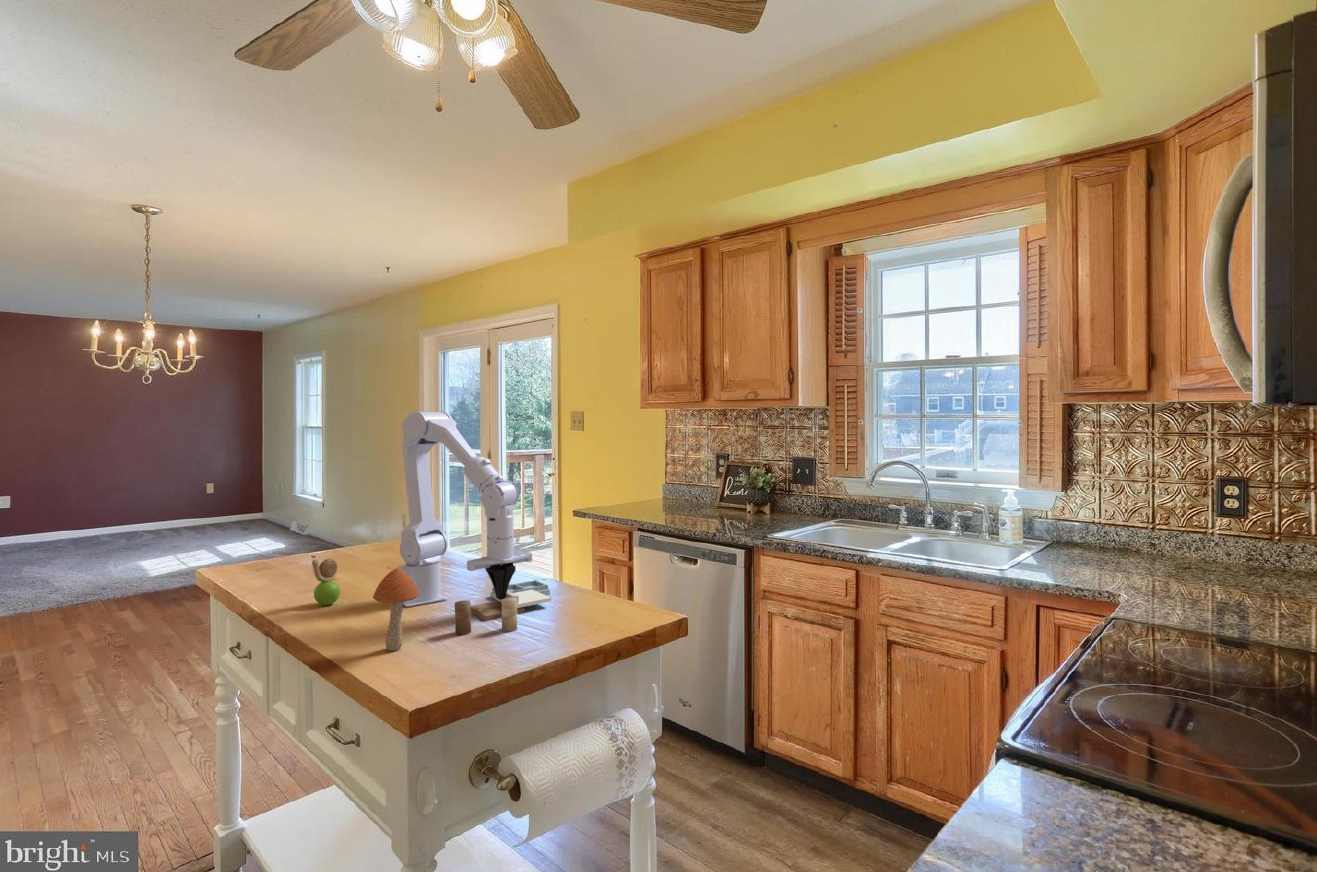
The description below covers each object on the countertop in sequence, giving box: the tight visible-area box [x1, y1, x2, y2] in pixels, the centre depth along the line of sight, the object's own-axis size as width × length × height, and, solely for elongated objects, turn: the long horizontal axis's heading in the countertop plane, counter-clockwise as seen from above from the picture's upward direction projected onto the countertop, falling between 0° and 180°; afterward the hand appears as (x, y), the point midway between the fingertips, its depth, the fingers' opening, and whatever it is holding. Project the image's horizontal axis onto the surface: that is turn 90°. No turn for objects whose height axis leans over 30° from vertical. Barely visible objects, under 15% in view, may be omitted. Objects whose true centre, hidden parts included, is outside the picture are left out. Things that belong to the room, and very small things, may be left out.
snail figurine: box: [310, 554, 342, 606], centre depth 147 cm, size 5×6×12 cm
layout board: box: [471, 600, 526, 622], centre depth 141 cm, size 9×9×1 cm
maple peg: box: [501, 598, 518, 633], centre depth 130 cm, size 3×3×6 cm
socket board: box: [490, 579, 551, 600], centre depth 154 cm, size 12×7×2 cm, turn 129°
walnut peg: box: [454, 599, 472, 636], centre depth 128 cm, size 3×3×6 cm
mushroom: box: [372, 567, 419, 652], centre depth 119 cm, size 8×8×15 cm
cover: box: [495, 590, 552, 608], centre depth 145 cm, size 9×9×3 cm
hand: (500, 598), depth 142 cm, fingers closed
